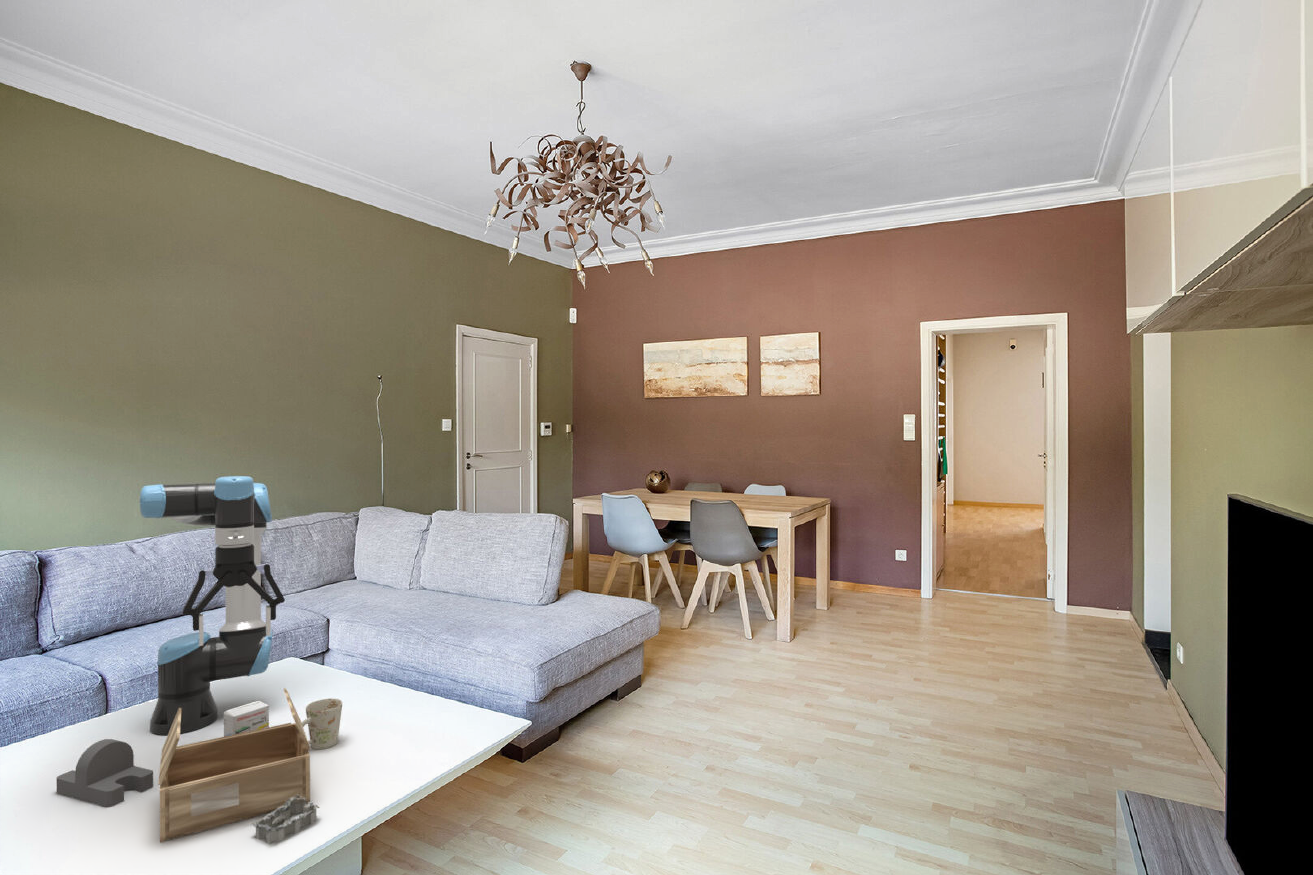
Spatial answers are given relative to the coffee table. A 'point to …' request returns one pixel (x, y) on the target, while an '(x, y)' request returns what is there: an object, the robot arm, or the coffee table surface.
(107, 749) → the bracket
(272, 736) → the light wood open box
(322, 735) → the mug
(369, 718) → the coffee table surface
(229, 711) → the ink box
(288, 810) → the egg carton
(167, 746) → the flap
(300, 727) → the flap
